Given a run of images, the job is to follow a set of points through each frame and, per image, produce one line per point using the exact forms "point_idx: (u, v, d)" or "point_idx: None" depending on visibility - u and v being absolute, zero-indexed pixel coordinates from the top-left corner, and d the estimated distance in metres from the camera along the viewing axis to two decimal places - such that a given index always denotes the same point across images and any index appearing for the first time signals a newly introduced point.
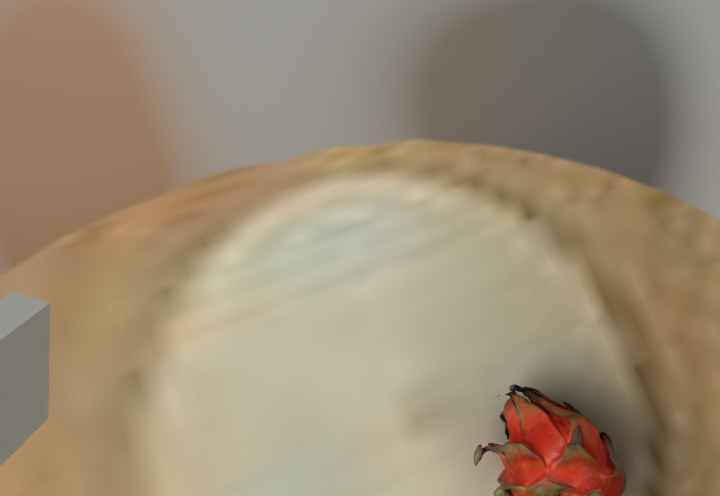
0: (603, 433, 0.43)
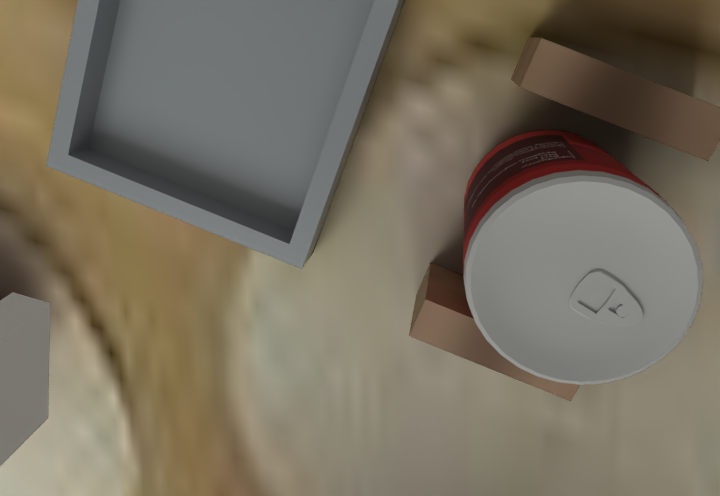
0: None
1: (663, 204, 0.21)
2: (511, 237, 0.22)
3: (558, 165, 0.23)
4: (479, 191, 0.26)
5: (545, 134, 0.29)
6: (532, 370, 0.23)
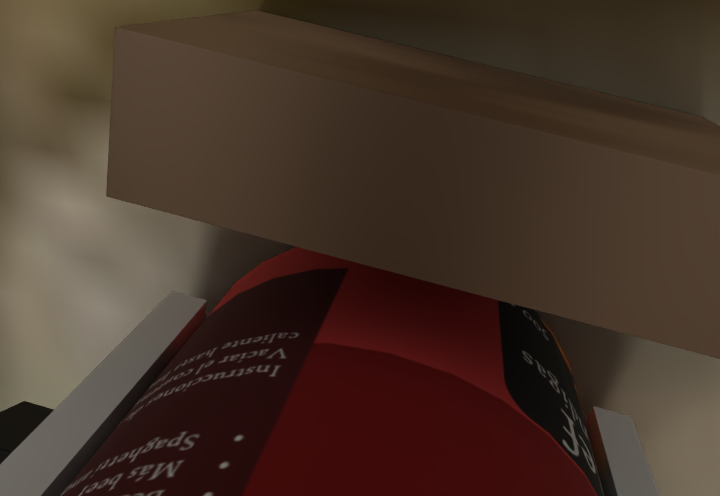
0: None
1: None
2: None
3: None
4: None
5: (311, 267, 0.11)
6: None
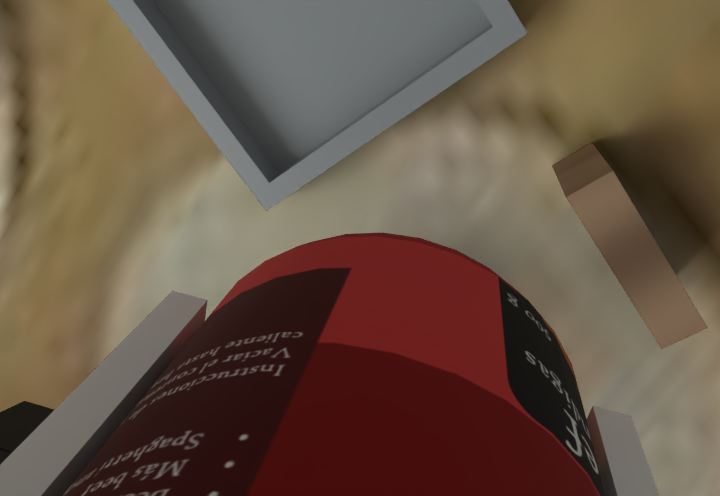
0: None
1: None
2: None
3: None
4: None
5: (314, 266, 0.11)
6: None
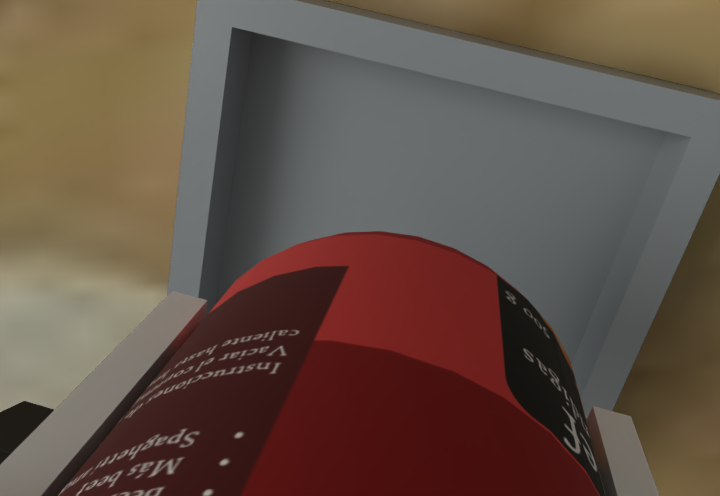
0: None
1: None
2: None
3: None
4: None
5: (311, 264, 0.11)
6: None
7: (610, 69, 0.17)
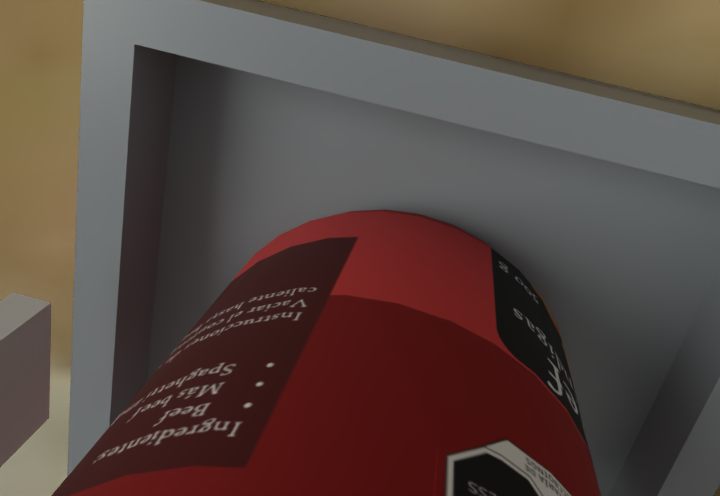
0: None
1: None
2: None
3: None
4: None
5: (324, 236, 0.12)
6: None
7: (679, 104, 0.12)
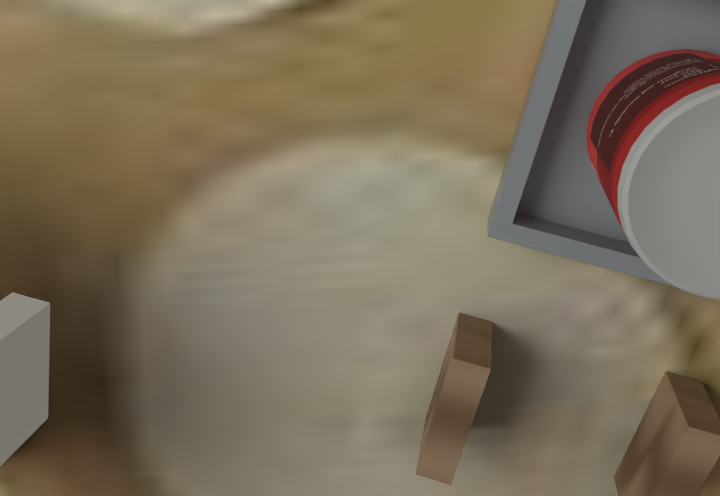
0: None
1: None
2: (668, 158, 0.22)
3: (709, 78, 0.22)
4: (615, 120, 0.26)
5: (671, 54, 0.28)
6: (699, 291, 0.23)
7: None
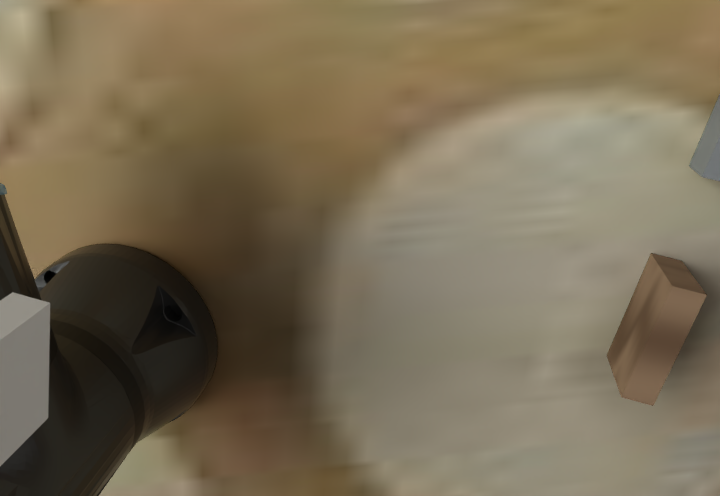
0: None
1: None
2: None
3: None
4: None
5: None
6: None
7: None
